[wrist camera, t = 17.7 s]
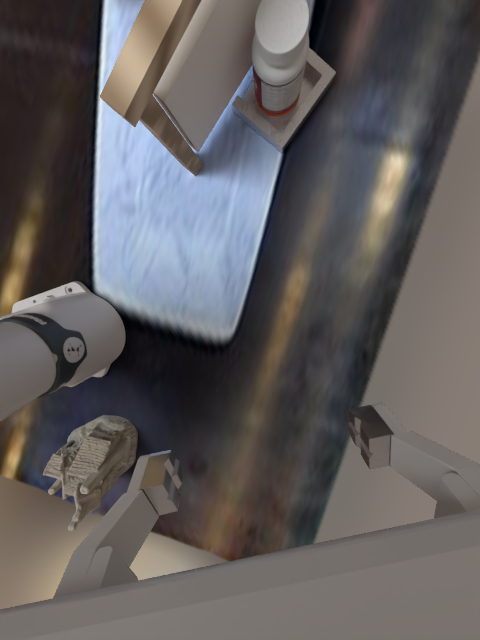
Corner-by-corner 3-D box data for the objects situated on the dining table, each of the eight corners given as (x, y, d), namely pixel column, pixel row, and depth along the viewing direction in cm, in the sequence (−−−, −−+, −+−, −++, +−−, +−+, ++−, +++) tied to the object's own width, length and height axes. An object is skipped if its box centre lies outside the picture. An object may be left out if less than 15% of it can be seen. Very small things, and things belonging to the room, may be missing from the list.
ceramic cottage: (145, 426, 51) (91, 494, 37) (130, 480, 57) (77, 557, 42) (80, 397, 53) (3, 451, 38) (70, 451, 58) (0, 517, 43)
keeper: (281, 153, 36) (282, 148, 34) (234, 112, 35) (232, 104, 33) (332, 82, 33) (336, 72, 31) (281, 36, 33) (282, 22, 31)
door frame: (191, 181, 38) (123, 116, 20) (179, 171, 38) (99, 96, 20) (299, 9, 32) (341, -315, 14) (285, -4, 32) (308, -351, 13)
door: (198, 152, 35) (164, 101, 23) (180, 137, 35) (136, 78, 23) (281, 16, 30) (289, -131, 19) (261, -2, 30) (256, -163, 18)
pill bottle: (257, 66, 33) (252, -25, 23) (303, 67, 33) (320, -25, 22) (252, 119, 35) (245, 58, 24) (296, 121, 35) (308, 60, 24)
